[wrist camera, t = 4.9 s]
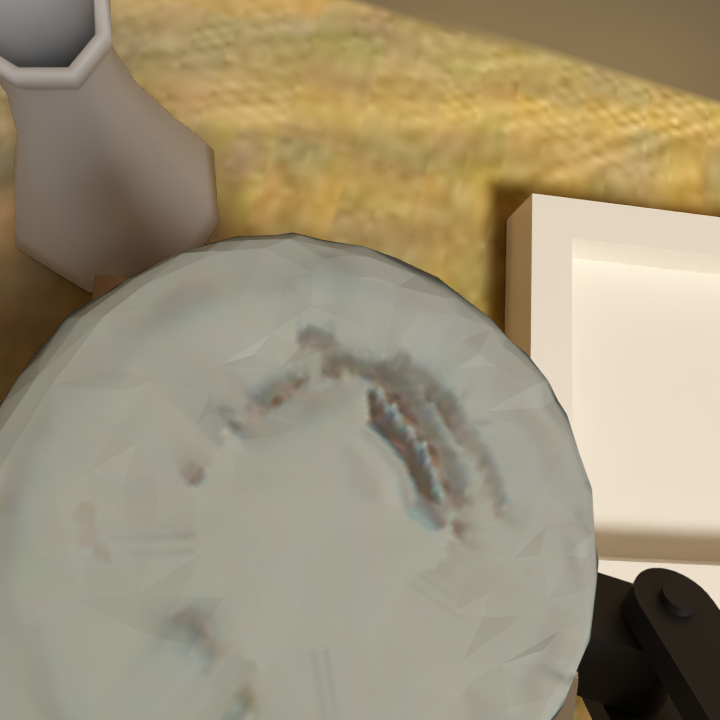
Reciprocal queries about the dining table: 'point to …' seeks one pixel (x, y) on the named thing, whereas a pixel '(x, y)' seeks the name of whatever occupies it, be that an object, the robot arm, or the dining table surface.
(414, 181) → the dining table surface
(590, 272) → the tray
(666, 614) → the robot arm
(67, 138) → the flask
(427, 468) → the sauce bottle
